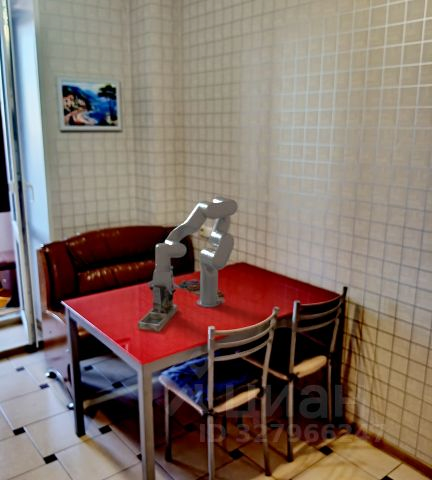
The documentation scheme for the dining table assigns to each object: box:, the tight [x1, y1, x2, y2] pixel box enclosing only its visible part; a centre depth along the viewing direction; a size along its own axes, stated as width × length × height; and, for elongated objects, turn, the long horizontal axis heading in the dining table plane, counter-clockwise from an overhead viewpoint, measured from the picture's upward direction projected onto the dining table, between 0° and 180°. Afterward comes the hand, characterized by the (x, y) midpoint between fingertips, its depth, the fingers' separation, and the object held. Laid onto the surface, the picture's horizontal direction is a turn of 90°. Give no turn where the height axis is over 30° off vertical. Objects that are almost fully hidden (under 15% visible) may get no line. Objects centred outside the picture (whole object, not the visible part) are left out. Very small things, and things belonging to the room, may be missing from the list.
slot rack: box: [137, 304, 179, 332], centre depth 233 cm, size 11×27×3 cm, turn 166°
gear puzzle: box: [178, 278, 224, 297], centre depth 275 cm, size 31×16×4 cm, turn 45°
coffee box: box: [152, 285, 174, 314], centre depth 237 cm, size 9×6×16 cm
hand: (163, 299), depth 237 cm, fingers closed on coffee box, 8 cm apart
